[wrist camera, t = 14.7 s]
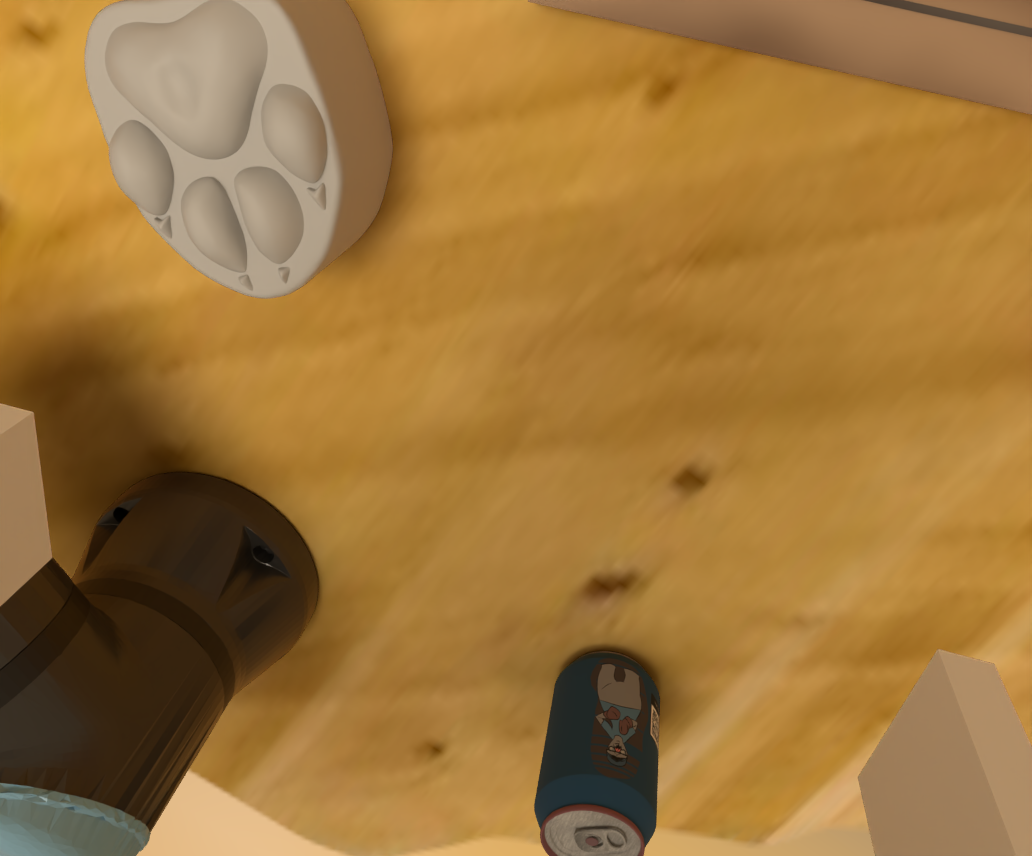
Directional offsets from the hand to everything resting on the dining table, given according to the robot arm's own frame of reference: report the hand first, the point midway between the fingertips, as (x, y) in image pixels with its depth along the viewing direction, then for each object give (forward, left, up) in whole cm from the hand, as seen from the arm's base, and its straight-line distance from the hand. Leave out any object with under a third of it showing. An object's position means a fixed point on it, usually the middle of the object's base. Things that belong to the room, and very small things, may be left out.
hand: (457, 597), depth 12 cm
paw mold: (-2, +16, -32) cm, 36 cm away
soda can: (-33, -8, -32) cm, 47 cm away
